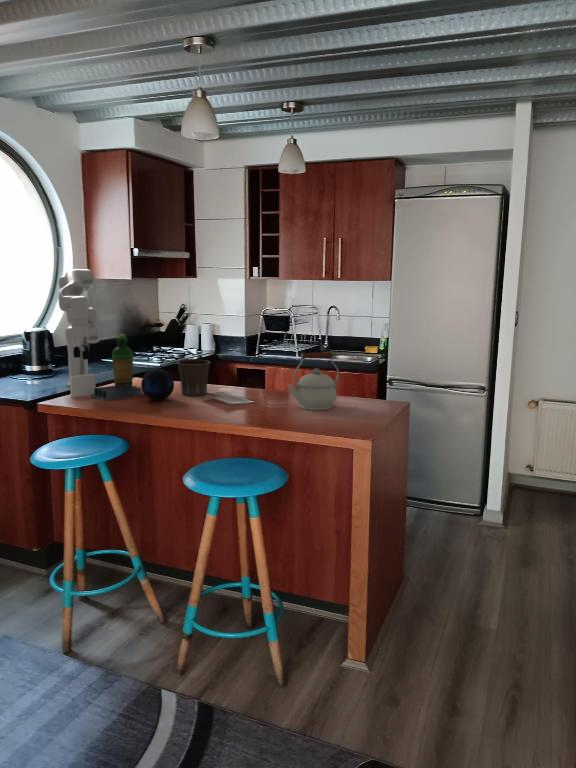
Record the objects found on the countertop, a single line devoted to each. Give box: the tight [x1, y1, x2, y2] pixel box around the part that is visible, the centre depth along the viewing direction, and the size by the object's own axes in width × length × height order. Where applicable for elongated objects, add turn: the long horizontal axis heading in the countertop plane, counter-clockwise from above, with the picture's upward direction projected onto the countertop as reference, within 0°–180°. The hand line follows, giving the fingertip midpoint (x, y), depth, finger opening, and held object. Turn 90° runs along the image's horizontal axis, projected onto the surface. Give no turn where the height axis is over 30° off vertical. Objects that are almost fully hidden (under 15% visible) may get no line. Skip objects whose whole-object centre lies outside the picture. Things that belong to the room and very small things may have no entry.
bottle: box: [111, 333, 134, 386], centre depth 322 cm, size 11×11×28 cm
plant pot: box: [176, 359, 211, 397], centre depth 310 cm, size 16×16×16 cm
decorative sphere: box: [140, 368, 175, 402], centre depth 294 cm, size 15×15×15 cm
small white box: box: [69, 373, 97, 398], centre depth 305 cm, size 2×12×10 cm, turn 133°
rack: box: [89, 384, 146, 402], centre depth 305 cm, size 14×22×4 cm, turn 133°
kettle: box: [286, 351, 340, 411], centre depth 281 cm, size 25×18×25 cm
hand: (81, 358), depth 302 cm, fingers open, 9 cm apart
